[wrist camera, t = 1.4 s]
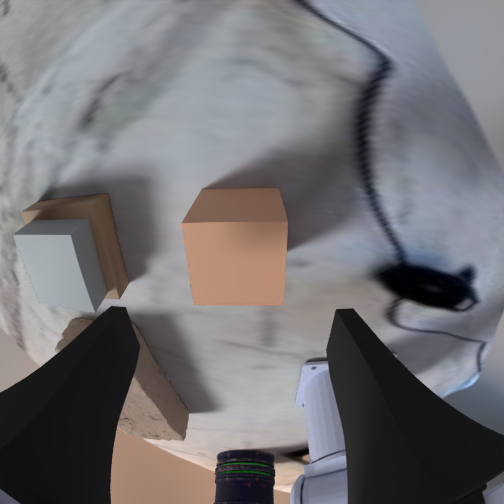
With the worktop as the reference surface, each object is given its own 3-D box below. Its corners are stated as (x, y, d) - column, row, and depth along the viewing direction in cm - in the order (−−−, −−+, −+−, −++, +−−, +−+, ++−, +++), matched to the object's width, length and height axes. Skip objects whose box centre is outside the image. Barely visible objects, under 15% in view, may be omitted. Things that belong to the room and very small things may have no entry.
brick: (67, 317, 22) (45, 351, 18) (136, 316, 22) (117, 358, 18) (134, 407, 30) (126, 436, 26) (192, 412, 30) (187, 444, 26)
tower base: (112, 190, 17) (93, 204, 14) (131, 279, 20) (119, 299, 18) (41, 199, 17) (21, 212, 14) (64, 275, 20) (49, 292, 18)
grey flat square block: (89, 218, 15) (70, 235, 13) (108, 292, 18) (95, 312, 16) (31, 220, 15) (13, 234, 13) (52, 285, 18) (38, 302, 16)
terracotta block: (279, 187, 16) (288, 221, 12) (277, 255, 18) (283, 305, 14) (202, 188, 16) (181, 222, 12) (207, 255, 18) (194, 304, 14)
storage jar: (271, 465, 40) (272, 533, 27) (218, 463, 40) (213, 531, 27) (277, 449, 35) (280, 532, 22) (214, 447, 35) (207, 530, 22)
